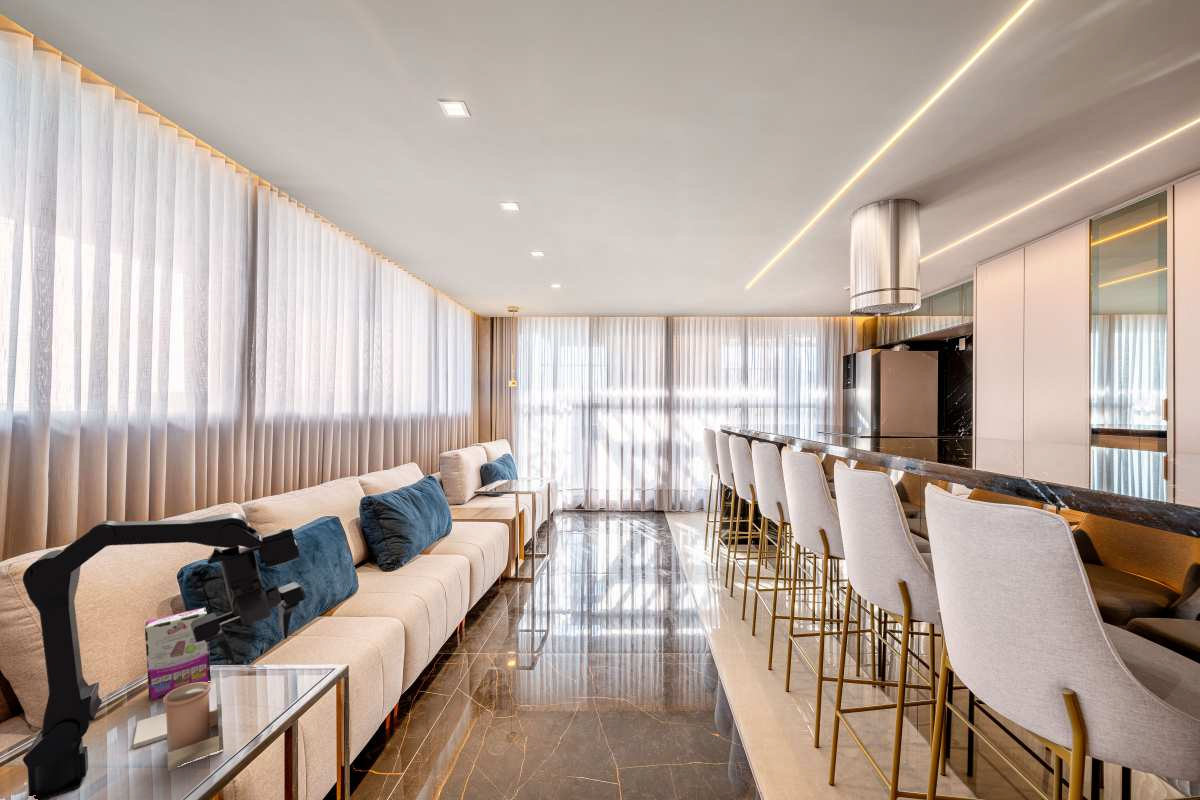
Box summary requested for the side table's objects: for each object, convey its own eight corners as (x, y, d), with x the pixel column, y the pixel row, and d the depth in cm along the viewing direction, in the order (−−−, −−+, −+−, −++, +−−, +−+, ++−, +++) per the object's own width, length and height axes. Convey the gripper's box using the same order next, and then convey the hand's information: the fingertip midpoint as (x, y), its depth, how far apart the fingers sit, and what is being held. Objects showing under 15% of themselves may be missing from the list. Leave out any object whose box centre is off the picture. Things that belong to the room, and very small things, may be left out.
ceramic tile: (133, 748, 101) (133, 744, 101) (137, 725, 108) (137, 721, 108) (193, 729, 106) (193, 725, 106) (193, 708, 113) (193, 704, 113)
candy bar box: (209, 674, 127) (206, 606, 127) (211, 683, 123) (208, 612, 123) (148, 692, 120) (145, 620, 120) (148, 702, 116) (144, 627, 116)
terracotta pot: (165, 765, 96) (162, 707, 96) (166, 745, 101) (164, 690, 101) (213, 748, 100) (210, 692, 100) (212, 730, 106) (209, 677, 105)
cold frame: (168, 771, 94) (165, 720, 94) (170, 738, 103) (168, 692, 103) (223, 751, 99) (221, 703, 99) (221, 721, 108) (219, 677, 108)
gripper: (189, 607, 94) (210, 690, 95) (304, 565, 106) (321, 638, 108) (182, 593, 102) (201, 669, 104) (290, 555, 115) (305, 623, 116)
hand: (260, 649), depth 108 cm, fingers open, 9 cm apart
